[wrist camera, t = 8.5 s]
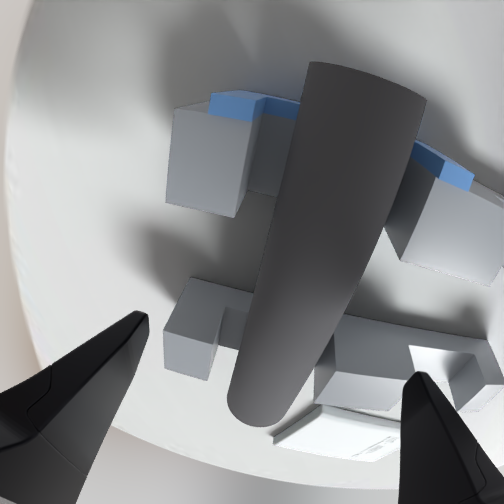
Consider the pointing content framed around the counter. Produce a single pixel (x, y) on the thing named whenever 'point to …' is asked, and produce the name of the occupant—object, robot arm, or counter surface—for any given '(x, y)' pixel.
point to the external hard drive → (341, 435)
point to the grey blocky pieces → (397, 227)
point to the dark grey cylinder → (321, 230)
